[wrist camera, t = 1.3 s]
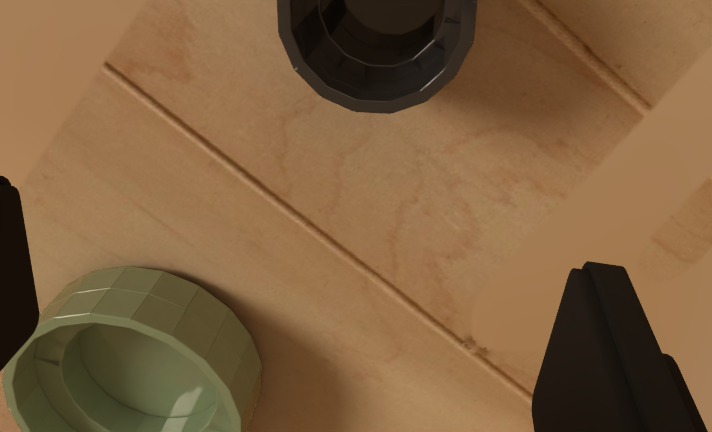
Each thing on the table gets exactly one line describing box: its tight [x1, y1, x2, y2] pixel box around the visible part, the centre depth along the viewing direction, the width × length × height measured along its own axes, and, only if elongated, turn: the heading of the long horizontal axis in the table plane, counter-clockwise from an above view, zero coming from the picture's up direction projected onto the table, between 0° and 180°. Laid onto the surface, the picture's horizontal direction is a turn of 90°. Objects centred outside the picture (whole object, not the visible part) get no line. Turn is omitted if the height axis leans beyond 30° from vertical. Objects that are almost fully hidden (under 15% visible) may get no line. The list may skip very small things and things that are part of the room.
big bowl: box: [2, 266, 262, 432], centre depth 38 cm, size 13×13×5 cm
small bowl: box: [277, 0, 477, 114], centre depth 26 cm, size 7×7×6 cm
